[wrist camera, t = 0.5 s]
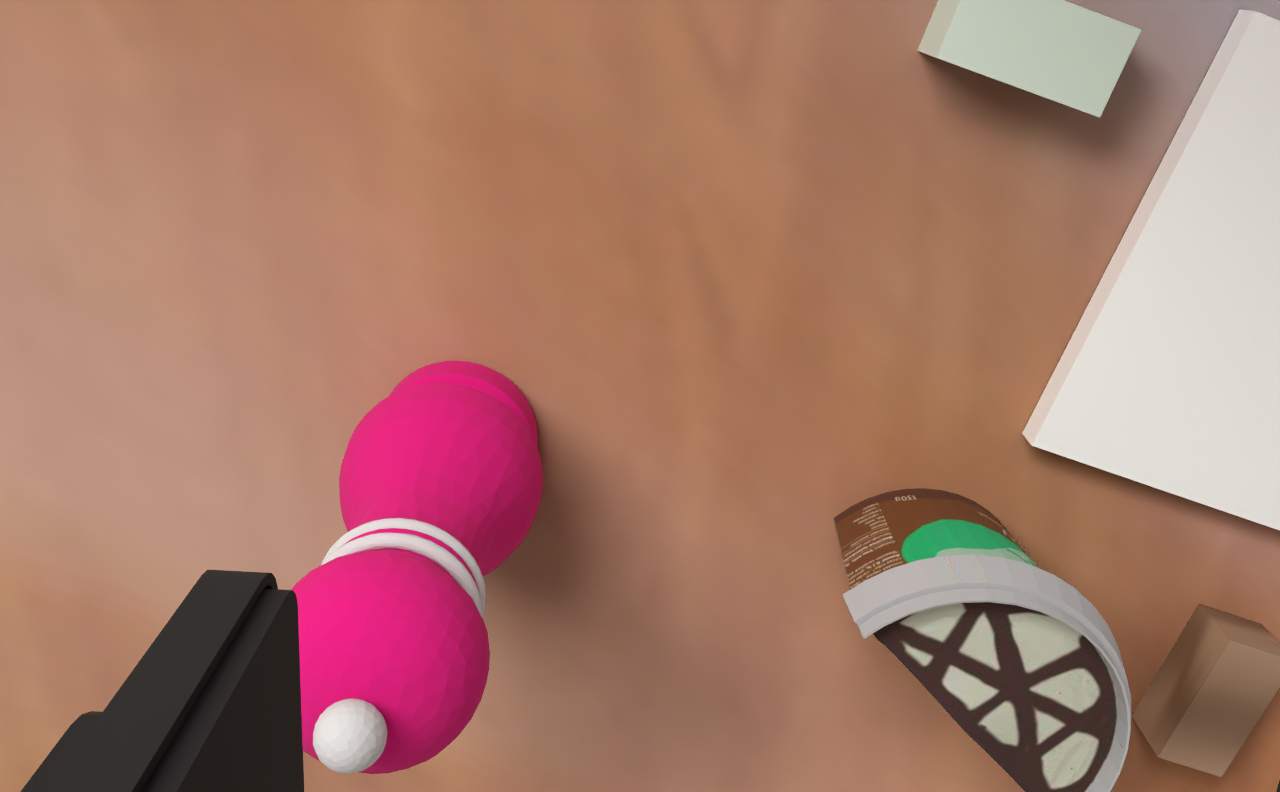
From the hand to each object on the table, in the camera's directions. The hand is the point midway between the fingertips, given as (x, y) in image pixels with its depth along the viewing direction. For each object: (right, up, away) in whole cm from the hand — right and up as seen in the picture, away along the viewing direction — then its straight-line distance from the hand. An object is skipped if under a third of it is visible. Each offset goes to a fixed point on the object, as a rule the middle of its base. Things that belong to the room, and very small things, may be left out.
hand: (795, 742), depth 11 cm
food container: (+12, -3, +38) cm, 40 cm away
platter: (+24, +7, +34) cm, 42 cm away
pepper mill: (-9, +2, +36) cm, 37 cm away
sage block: (+12, +16, +31) cm, 37 cm away
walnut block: (+23, -9, +40) cm, 47 cm away
